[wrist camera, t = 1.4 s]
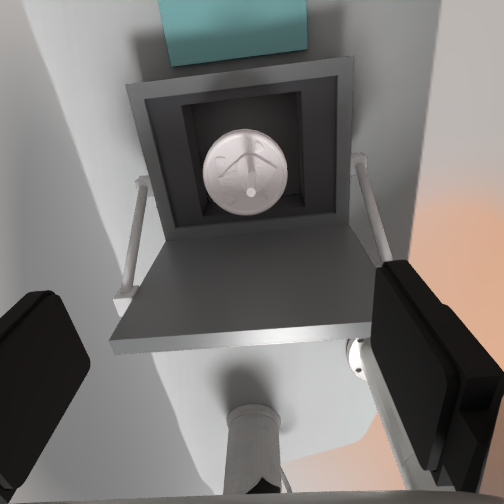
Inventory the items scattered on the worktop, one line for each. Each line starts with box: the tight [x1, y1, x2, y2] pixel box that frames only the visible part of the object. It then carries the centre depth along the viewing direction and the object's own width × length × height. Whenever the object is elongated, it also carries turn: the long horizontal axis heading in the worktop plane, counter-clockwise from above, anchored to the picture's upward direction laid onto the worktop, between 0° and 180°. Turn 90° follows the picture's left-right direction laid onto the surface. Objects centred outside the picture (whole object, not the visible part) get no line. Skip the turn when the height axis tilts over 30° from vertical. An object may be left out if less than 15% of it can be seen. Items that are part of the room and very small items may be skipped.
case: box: [109, 56, 393, 355], centre depth 25 cm, size 21×15×18 cm
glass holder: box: [223, 404, 292, 495], centre depth 47 cm, size 9×14×15 cm, turn 41°
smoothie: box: [203, 129, 287, 215], centre depth 26 cm, size 6×6×14 cm
